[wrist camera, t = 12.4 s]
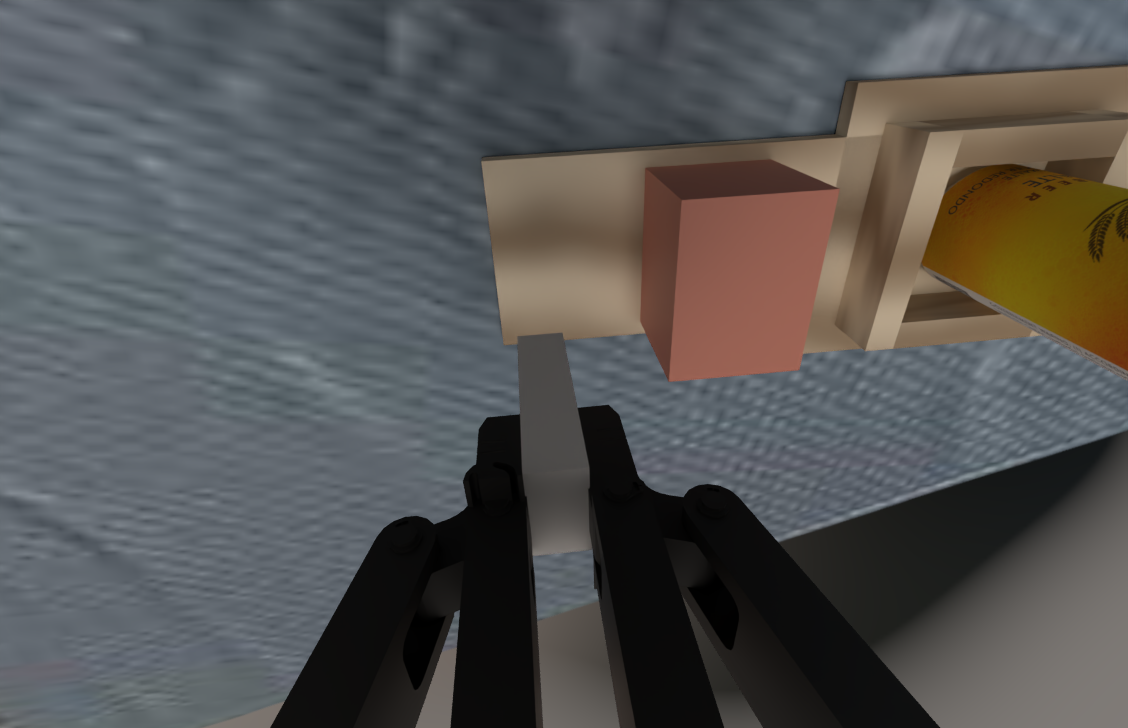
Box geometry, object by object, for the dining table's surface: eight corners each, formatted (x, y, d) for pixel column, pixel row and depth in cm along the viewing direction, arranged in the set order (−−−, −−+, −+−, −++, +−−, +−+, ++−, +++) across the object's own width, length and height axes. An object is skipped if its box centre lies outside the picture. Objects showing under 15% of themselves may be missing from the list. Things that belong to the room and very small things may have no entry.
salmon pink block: (645, 167, 24) (681, 200, 19) (771, 159, 25) (839, 188, 19) (640, 321, 28) (668, 381, 23) (747, 312, 29) (799, 369, 24)
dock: (475, 103, 23) (470, 113, 20) (1131, 64, 25) (1230, 67, 21) (508, 370, 30) (508, 411, 27) (1011, 326, 32) (1071, 359, 29)
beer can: (1053, 179, 26) (1569, 300, 13) (974, 288, 29) (1339, 473, 16) (958, 144, 25) (1430, 240, 12) (885, 262, 28) (1205, 441, 15)
